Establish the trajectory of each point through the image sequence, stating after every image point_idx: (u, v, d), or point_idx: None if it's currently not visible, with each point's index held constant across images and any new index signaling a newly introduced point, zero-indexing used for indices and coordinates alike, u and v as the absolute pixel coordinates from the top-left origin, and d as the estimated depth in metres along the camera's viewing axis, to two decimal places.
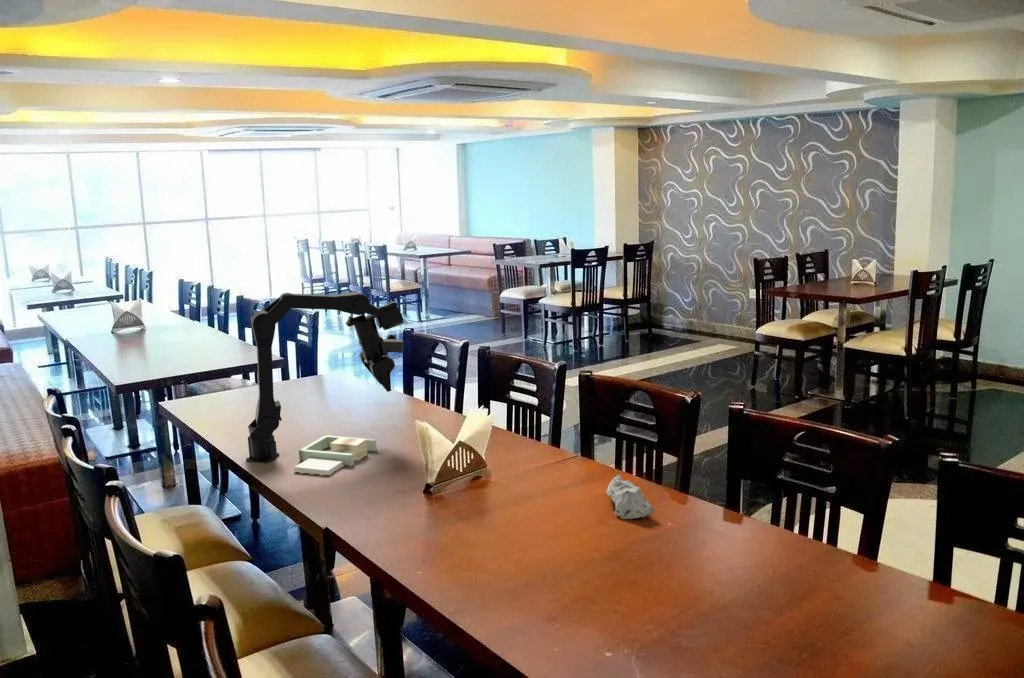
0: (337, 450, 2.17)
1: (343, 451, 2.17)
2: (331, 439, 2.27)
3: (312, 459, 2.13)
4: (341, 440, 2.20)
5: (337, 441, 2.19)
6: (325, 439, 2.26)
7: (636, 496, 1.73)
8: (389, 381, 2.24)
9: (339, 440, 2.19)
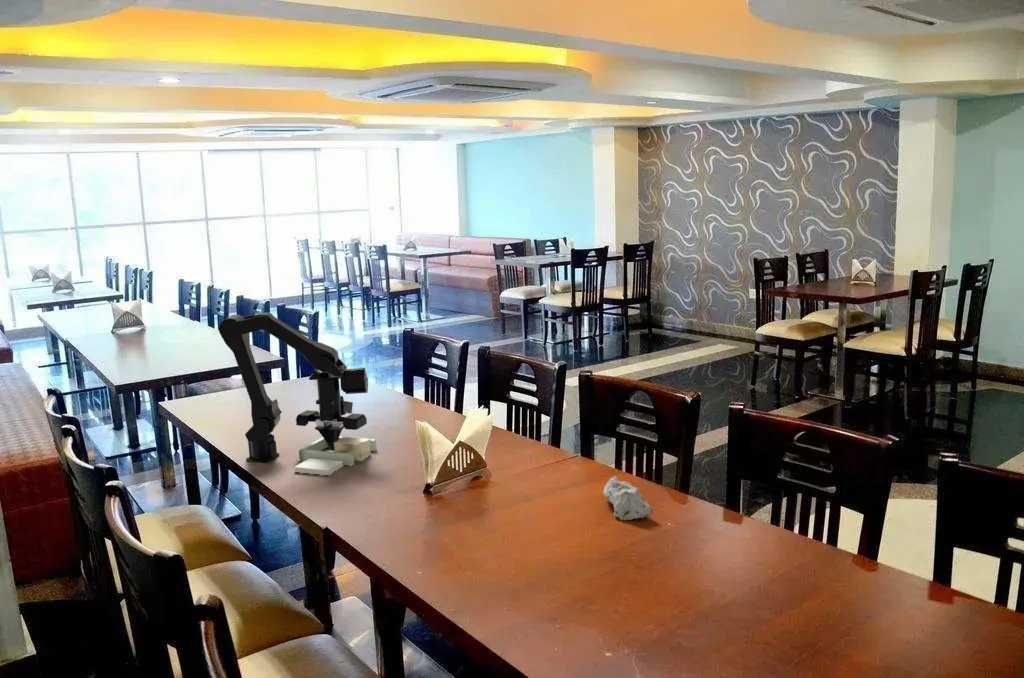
0: (341, 450, 2.17)
1: (347, 451, 2.17)
2: None
3: (312, 459, 2.13)
4: (345, 439, 2.19)
5: (341, 441, 2.19)
6: None
7: (635, 497, 1.73)
8: (337, 439, 2.21)
9: (342, 440, 2.19)
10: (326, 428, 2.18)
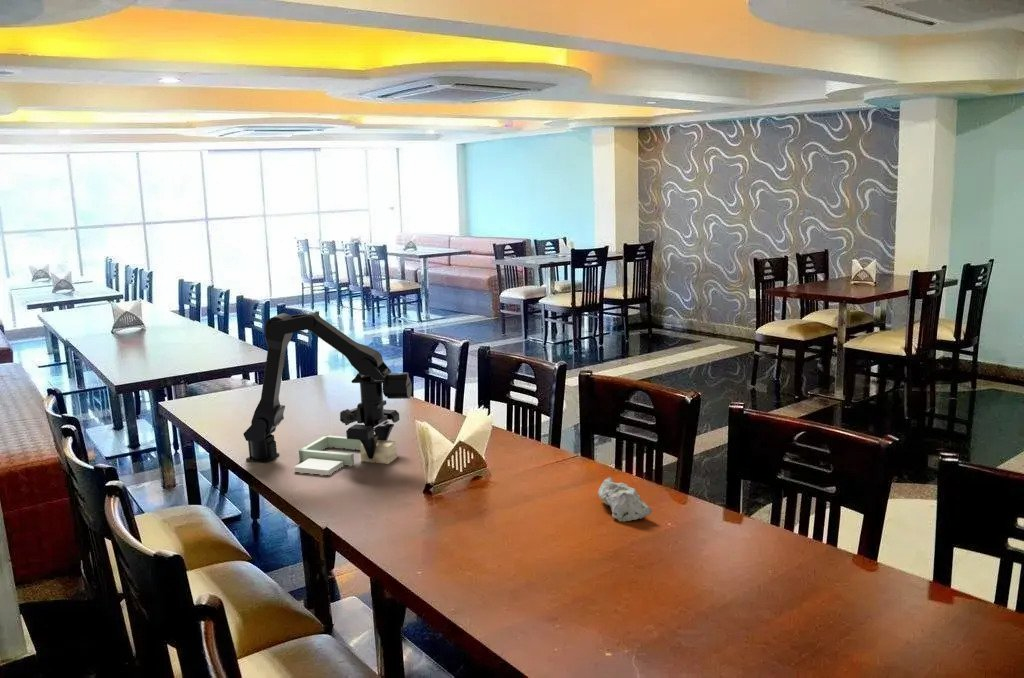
0: None
1: None
2: (331, 439, 2.27)
3: (312, 459, 2.13)
4: None
5: None
6: (325, 439, 2.26)
7: (634, 498, 1.72)
8: None
9: None
10: None
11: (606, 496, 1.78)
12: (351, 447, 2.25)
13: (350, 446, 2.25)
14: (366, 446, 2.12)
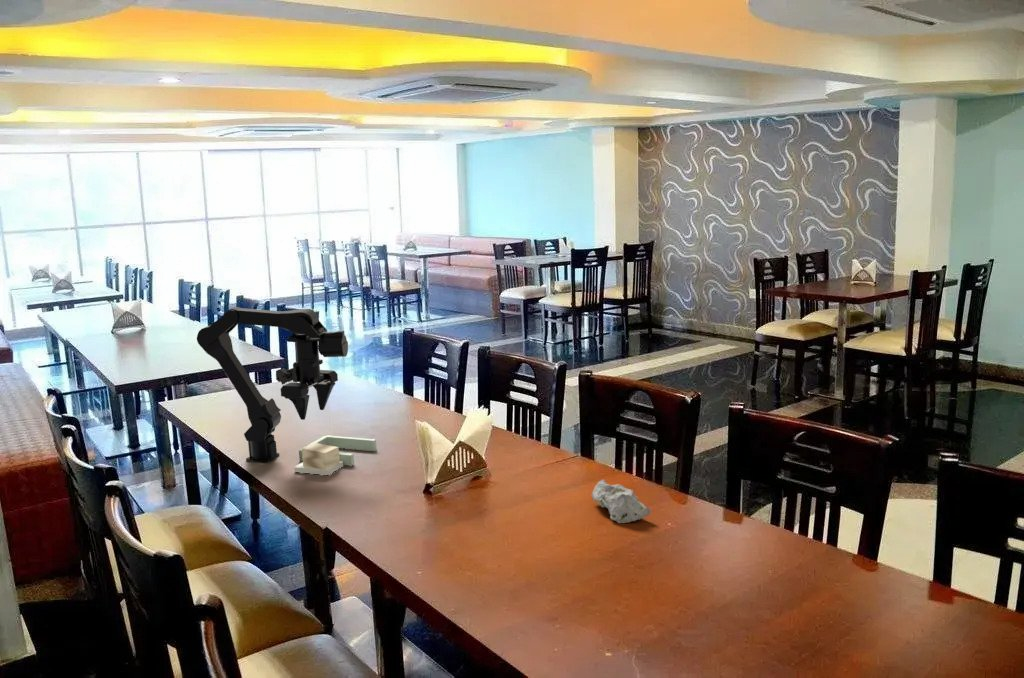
0: (307, 456, 2.08)
1: (313, 458, 2.07)
2: (331, 439, 2.27)
3: None
4: (314, 446, 2.10)
5: (309, 447, 2.09)
6: (325, 439, 2.26)
7: (632, 499, 1.72)
8: None
9: (312, 446, 2.10)
10: None
11: (602, 498, 1.77)
12: (351, 447, 2.25)
13: (350, 446, 2.25)
14: (297, 407, 2.11)
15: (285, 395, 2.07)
